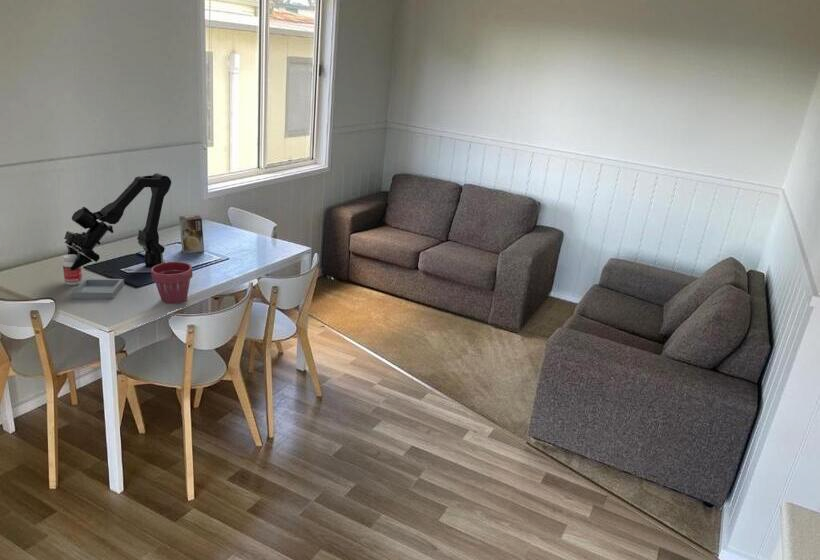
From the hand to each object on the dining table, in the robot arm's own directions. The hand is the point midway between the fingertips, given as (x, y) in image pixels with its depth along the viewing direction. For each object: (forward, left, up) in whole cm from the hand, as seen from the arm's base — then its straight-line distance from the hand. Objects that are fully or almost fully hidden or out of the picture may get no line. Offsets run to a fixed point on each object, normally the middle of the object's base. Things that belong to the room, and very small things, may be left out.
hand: (68, 267), depth 239 cm
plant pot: (-42, +15, -7) cm, 45 cm away
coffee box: (-38, -43, -7) cm, 58 cm away
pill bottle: (-1, -1, -7) cm, 7 cm away
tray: (-13, +8, -7) cm, 17 cm away
